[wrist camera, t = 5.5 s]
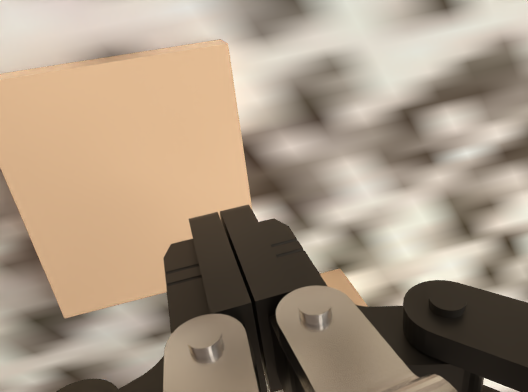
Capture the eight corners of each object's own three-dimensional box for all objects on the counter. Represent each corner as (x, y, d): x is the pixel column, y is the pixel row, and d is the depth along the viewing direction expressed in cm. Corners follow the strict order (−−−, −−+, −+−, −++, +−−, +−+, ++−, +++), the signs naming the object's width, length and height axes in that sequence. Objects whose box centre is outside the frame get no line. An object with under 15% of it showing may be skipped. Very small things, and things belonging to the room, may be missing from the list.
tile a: (218, 38, 14) (-16, 74, 13) (227, 43, 13) (-35, 85, 11) (250, 245, 18) (70, 289, 16) (260, 268, 16) (64, 318, 15)
